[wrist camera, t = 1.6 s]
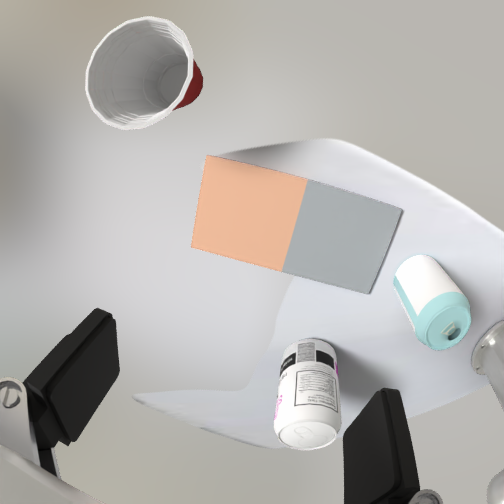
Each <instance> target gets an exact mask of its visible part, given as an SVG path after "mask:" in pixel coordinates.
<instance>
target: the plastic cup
mask: <svg viewBox="0 0 504 504" xmlns="http://www.w3.org/2000/svg"><path fill="white" fill-rule="evenodd" d="M85 86H86V87H85V92H86V95H87V98H88V100H89V103H90V106H91V109H92V110H93V112H94V113H95V114H96V115H97V116H99V118H100V119H101V120H102V121H103V122H104V123H105V124H108V125H111V126H114V127H116V128H119V129H122V130H130V129H142V128H146V127H148V126H150V125H152V124H154V123H156V122H158V121H159V120H162V119H164V118H166V116H167V115H168V114H169V113H170V112H171V111H173V110H175V109H177V108H181V107H184V106H186V105H188V104H190V103H192V102H193V101H194V100H195V99H196V98H197V97H198V96H199V94H200V92H201V89H202V87H203V76H202V74H201V71H200V69H199V68H198V66H197V64H196V62H195V61H194V59H193V50H192V48H191V46H190V43H189V41H188V39H187V36H186V34H185V33H184V32H183V31H182V30H181V29H179V28H178V27H177V26H176V25H174V24H173V23H172V22H171V21H169V20H166V19H160V18H156V17H151V16H146V17H142V18H137V19H132V20H128V21H126V22H124V23H123V24H121V25H120V26H118V27H116V28H115V29H113V30H112V31H110V32H109V33H107V35H106V36H105V37H104V38H103V40H102V41H101V42H100V43H99V44H98V46H97V47H96V48H95V50H94V51H93V54H92V56H91V59H90V61H89V64H88V67H87V69H86V83H85Z"/></svg>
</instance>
